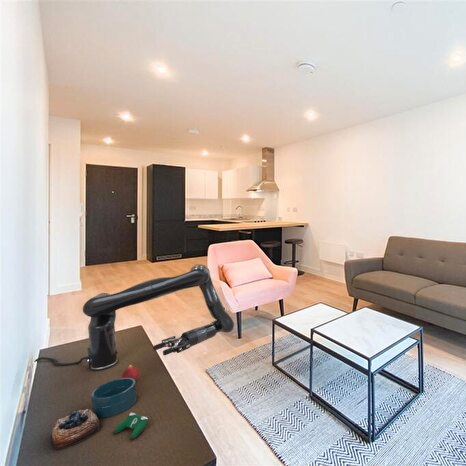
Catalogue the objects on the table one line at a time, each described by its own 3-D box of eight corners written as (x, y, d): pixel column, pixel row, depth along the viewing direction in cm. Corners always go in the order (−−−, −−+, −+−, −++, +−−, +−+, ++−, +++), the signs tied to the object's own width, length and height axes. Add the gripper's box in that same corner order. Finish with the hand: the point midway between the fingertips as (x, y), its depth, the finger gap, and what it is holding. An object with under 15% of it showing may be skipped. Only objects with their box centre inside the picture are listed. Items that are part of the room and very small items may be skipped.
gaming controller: (141, 440, 93) (153, 419, 96) (131, 438, 90) (144, 416, 94) (121, 433, 96) (133, 412, 99) (111, 431, 93) (125, 410, 97)
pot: (83, 416, 101) (81, 397, 100) (114, 394, 113) (112, 377, 112) (116, 418, 100) (115, 399, 99) (144, 395, 112) (143, 378, 112)
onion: (130, 389, 116) (129, 370, 116) (118, 387, 117) (117, 368, 117) (143, 380, 122) (142, 362, 121) (131, 379, 123) (130, 361, 122)
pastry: (94, 415, 102) (93, 399, 101) (102, 431, 94) (101, 414, 94) (49, 433, 93) (48, 416, 93) (54, 453, 86) (52, 435, 85)
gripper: (186, 326, 145) (150, 338, 131) (202, 332, 138) (166, 346, 124) (186, 340, 146) (151, 354, 132) (203, 347, 138) (167, 363, 125)
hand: (158, 350), depth 128 cm, fingers open, 8 cm apart
